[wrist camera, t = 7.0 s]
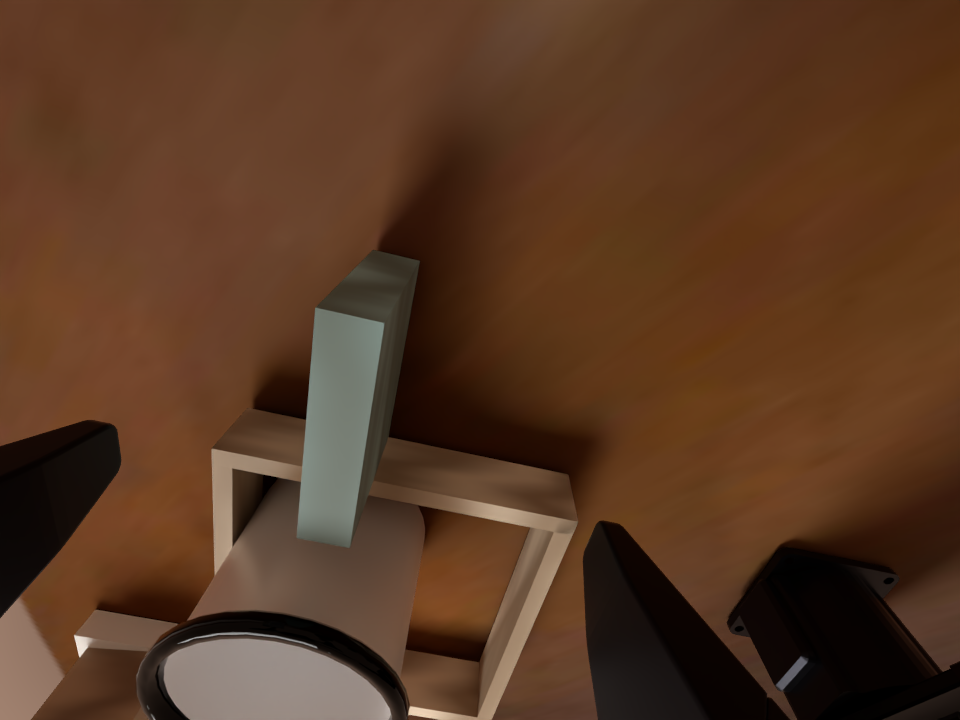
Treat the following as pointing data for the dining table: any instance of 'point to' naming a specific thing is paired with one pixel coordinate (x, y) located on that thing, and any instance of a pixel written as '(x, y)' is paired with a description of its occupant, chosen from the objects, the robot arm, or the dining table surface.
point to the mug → (295, 623)
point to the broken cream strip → (119, 632)
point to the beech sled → (392, 477)
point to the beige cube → (97, 688)
